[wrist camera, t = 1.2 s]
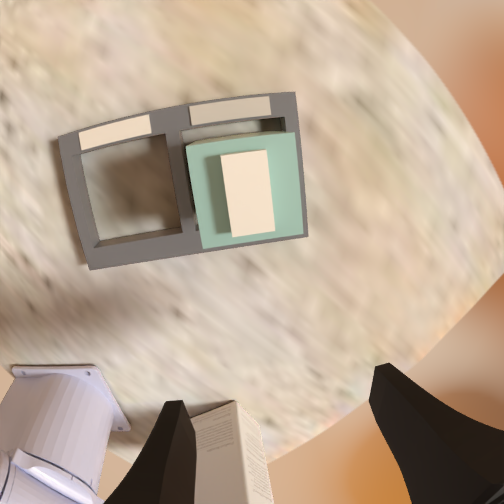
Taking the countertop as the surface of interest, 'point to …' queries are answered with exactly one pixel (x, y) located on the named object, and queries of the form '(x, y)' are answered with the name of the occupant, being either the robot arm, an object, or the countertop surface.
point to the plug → (246, 187)
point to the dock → (171, 124)
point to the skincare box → (230, 458)
